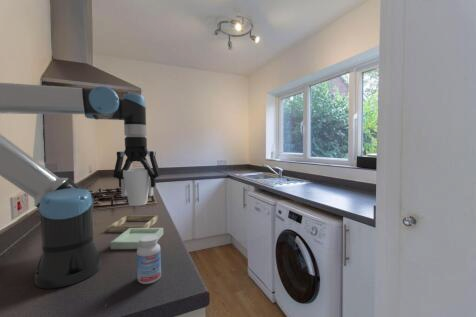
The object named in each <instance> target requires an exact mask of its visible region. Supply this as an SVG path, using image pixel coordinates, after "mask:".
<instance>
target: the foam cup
mask: <svg viewBox="0 0 476 317" xmlns="http://www.w3.org/2000/svg"><path fill="white" fill-rule="evenodd" d="M123 177H124V181H125V187H126V192H127V196H126V198H127V201H128V202H127V203H128V205H129V206H131V207H138V206H144V205H146V204H147V203H148V198H149V189H148V179H150V177H149V175H148V173H147V170H145V168H129V169H128V170H127V171H125V170H123Z"/></svg>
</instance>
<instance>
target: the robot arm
mask: <svg viewBox="0 0 476 317" xmlns="http://www.w3.org/2000/svg"><path fill="white" fill-rule="evenodd" d="M146 110H147V106H146V99H145V97H144V96H143V95H142V94H137V93H124V94H123V96H122V98H119V95H118V94H117V92H116V91H115V90H113V89H112V88H110V87H109V86H105V85H99V86H95V87H93V88H90V87H89V88H88V87H87V88H85V87H71V86H56V85H41V84H26V83H14V82H13V83H12V82H0V114H6V115H7V114H16V115H18V114H19V115H20V114H24V115H25V114H26V115H27V114H28V115H84V117H85V118H87V119H92V120H113V121H114V120H115V121H123V125H124V127H123V128H124V129H123V130H124V133H123V134H124V136H126V137H125V138H124V148H125V149H124V151H123V150H122V151H116V161H115V165H114V170H113V174H112V175H113V176H112V177H113V178H116V179H118V187H119V188H120V189H121V190H120V191H121V198H123V197H127V192H126V187H125V181H124V177H123V170H125V171H127V170H128V169H130V168H131V165H132V164H133V162H140V163H141V164H142V166H143V169H145V170H147V173H148V175H149V177H150V179H148V189H149V190H148V197H152V196H154V188H155V187H156V179H157V178H158V177H160V176H161V172H160V168H159V165H158V161H157V158H156V151H155V150H152V151H151V150H148V148H147V147H148V146H147V145H148V144H147V143H148V142H147V140H148V138H147V137H146V136H147V123H146V122H147V111H146ZM125 156H126V159H125V161H124V157H125ZM147 156H148V157H149V159H150V160H149V161H150V163H149V161H148V159H147ZM123 162H125V163H124V165H123ZM150 164H151V166H150ZM0 177H2V178H3V179H5V180H7V181H8V182H9V183H11V184H12V185H14V186H15V187H16V188H18V189H20V190H21V191H23V192H24V193H25V194H27V195H28V196H30V197H31V198H33V199H34V207H36V209H37V208H38V212H39V216H40V218H39V219H40V233H41V234H40V235H41V249H42V250H41V255H40V259H39V262H38V265H37V267H36V271H35V274H34V284H35V286H36V287H37V288H40V289H47V290H49V289H59V288H63V287H67V286H72V285H74V284H77V283H80V282H82V281H85V280H86V279H88V278H90V277H92V276H93V275H94V274H95V275H96V274H97V272H98V271H99V270H101V267H102V258H101V255H100V253H99V251H98V249H97V246H96V244H95V242H94V228H93V226H94V225H93V209H94V207H95V206H94V205H95V200H94V197H93V195H92V193H91V192H90V191H89V190H88V189H86V188H85V187H82V186H80V185H78V184H77V183H75V182H74V181H73V180H72V179H70V178H68V177H59V176H58V175H56V174H55V173H53V172H52V171H50V170H49V169H48V168H47V167H45V166H44V165H43V164H41V163H40V162H39V161H37V160H36V159H34V158H33V157H32V156H31V155H29V154H28V153H27V152H25V151H24V150H23V149H21V148H20V147H19V146H17V145H16V144H15V143H13V142H12V141H10V140H9V139H8V138H7V137H6V136H4V134H2V133H0Z"/></svg>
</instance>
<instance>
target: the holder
mask: <svg viewBox="0 0 476 317" xmlns="http://www.w3.org/2000/svg"><path fill="white" fill-rule="evenodd" d="M158 221H159V215H158V214H156V215H155V214H153V215H152V214H150V215H149V214H148V215H147V214H146V215H145V214H144V215H142V214H139V215H138V214H136V215H134V214H132V215H125V216H123V217H121V218H120V219H118V220H117V221H115V222H112V224H110V225H108V226H107V232H108V233H124V232H125V231H126V230H128V229H129V228H152V226H153V225H154V224H155V223H156V222H158ZM127 222H146V223H145V224H143V225H123V224H125V223H127Z"/></svg>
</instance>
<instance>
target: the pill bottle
mask: <svg viewBox="0 0 476 317" xmlns="http://www.w3.org/2000/svg"><path fill="white" fill-rule="evenodd" d="M158 241H159V239H158V237H157V236H156V235H146V236H143V237H141V238H140V239H139V244H140V247H139V248H138V249H136V270H137V271H136V274H137V275H136V278H137V279H136V280H137V281H138V282H139V283H140V284H142V285H149V284H153V283H156V282H157V281H159V280H160V279H161V277H162V262H161V261H162V258H161V257H162V253H161V252H162V251H161V245H160V244H159V243H158Z"/></svg>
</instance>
